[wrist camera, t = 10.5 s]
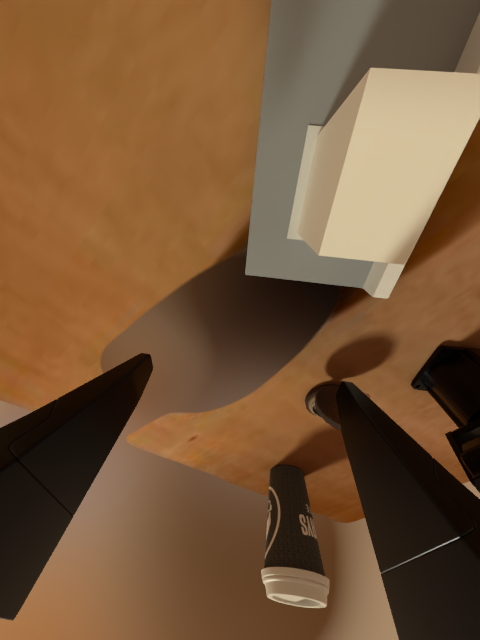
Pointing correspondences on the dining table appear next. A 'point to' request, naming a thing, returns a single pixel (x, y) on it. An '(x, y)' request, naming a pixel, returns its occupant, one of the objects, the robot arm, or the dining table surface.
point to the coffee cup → (292, 543)
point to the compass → (324, 404)
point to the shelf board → (322, 103)
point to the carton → (386, 162)
